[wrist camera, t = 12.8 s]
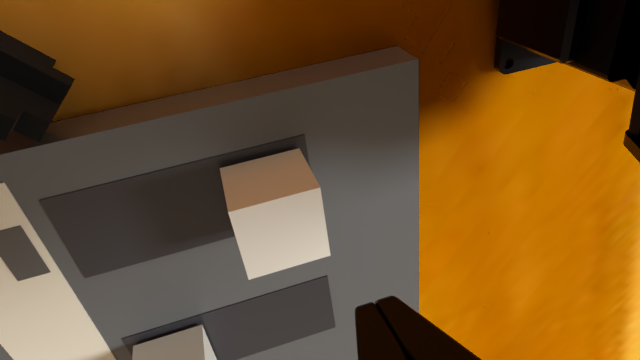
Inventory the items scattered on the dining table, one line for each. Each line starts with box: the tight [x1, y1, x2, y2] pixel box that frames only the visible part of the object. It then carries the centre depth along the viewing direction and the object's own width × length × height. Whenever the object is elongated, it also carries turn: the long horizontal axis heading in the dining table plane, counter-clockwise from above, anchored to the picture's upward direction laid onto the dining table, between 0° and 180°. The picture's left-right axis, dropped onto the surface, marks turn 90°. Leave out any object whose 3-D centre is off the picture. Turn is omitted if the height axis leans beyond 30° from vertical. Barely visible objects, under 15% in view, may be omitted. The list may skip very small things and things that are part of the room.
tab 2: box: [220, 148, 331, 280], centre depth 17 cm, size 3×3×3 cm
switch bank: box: [0, 46, 419, 360], centre depth 23 cm, size 20×24×2 cm
